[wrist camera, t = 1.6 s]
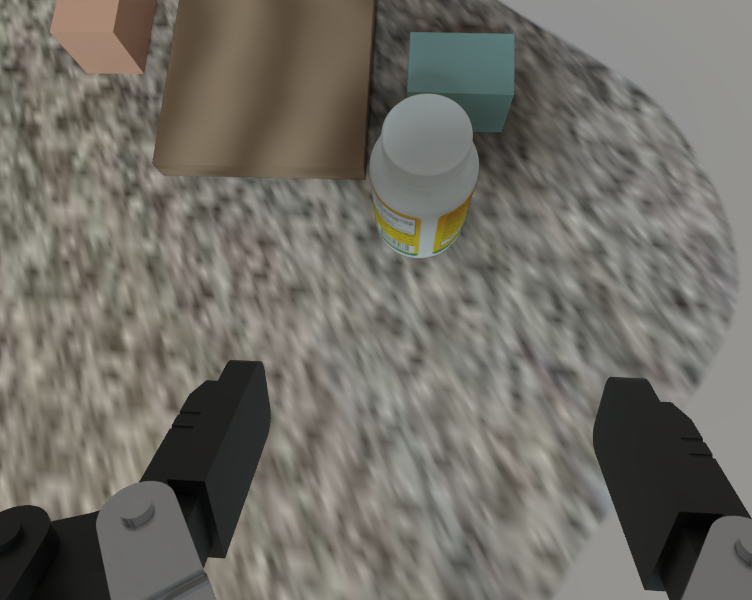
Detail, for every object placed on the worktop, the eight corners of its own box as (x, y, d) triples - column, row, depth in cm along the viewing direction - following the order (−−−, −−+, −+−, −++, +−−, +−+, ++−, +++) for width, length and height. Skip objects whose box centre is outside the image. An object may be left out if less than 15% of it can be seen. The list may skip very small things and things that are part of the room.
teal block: (406, 130, 34) (406, 91, 30) (409, 76, 35) (410, 31, 31) (501, 133, 33) (514, 94, 29) (502, 78, 34) (514, 33, 30)
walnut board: (163, 175, 34) (152, 163, 32) (190, 4, 37) (181, -13, 35) (365, 179, 33) (363, 168, 31) (375, 4, 36) (374, -13, 34)
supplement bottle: (379, 264, 32) (368, 195, 22) (372, 182, 33) (359, 85, 24) (469, 255, 31) (496, 183, 22) (458, 174, 33) (480, 73, 23)
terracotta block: (144, 75, 36) (112, 32, 32) (88, 74, 36) (50, 31, 32) (157, 1, 37) (128, -49, 33) (103, 1, 37) (68, -49, 34)
